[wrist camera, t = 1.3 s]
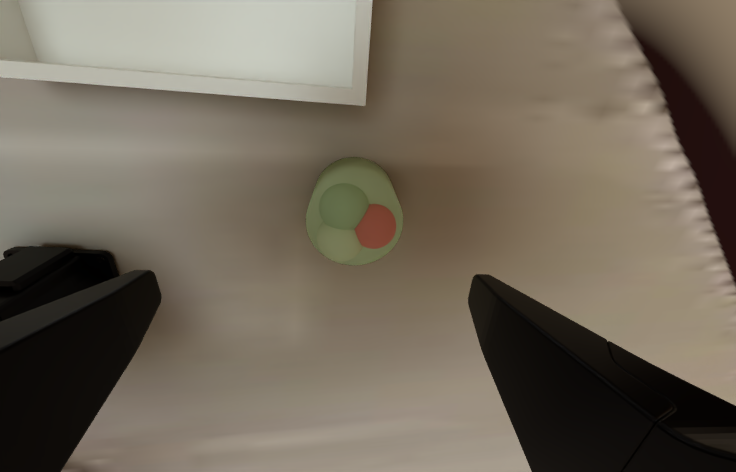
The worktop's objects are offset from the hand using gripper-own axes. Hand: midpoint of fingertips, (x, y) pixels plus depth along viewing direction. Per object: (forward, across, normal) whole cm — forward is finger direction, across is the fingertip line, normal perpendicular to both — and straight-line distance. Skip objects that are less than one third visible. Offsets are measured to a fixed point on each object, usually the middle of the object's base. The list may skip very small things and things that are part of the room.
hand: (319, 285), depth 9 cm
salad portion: (+12, -1, +2) cm, 12 cm away
